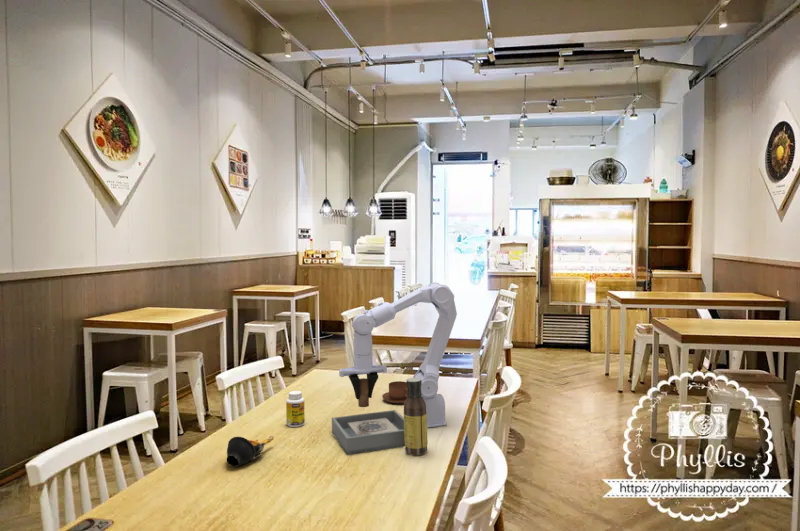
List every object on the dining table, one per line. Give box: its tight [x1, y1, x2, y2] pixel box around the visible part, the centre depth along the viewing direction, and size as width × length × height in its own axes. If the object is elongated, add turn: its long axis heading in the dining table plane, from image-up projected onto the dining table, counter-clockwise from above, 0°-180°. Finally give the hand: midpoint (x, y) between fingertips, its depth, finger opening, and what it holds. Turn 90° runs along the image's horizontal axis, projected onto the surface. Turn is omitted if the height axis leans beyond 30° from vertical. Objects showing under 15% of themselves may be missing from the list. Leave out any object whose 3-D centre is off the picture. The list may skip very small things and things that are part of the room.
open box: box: [331, 409, 405, 456], centre depth 154 cm, size 20×18×4 cm
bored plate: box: [347, 418, 398, 437], centre depth 154 cm, size 12×12×2 cm
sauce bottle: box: [403, 377, 429, 457], centre depth 144 cm, size 6×6×20 cm
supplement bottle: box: [285, 390, 306, 428], centre depth 166 cm, size 6×6×10 cm
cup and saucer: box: [381, 380, 408, 404], centre depth 191 cm, size 12×12×6 cm
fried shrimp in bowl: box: [226, 435, 274, 468], centre depth 141 cm, size 8×10×16 cm
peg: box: [357, 377, 370, 408], centre depth 163 cm, size 3×3×8 cm
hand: (363, 397), depth 163 cm, fingers closed on peg, 3 cm apart
